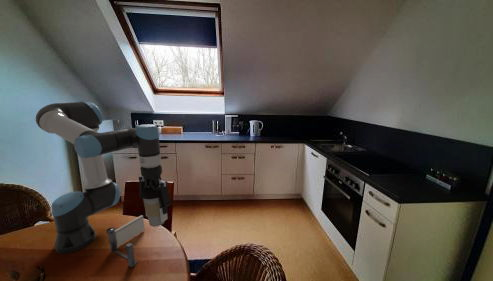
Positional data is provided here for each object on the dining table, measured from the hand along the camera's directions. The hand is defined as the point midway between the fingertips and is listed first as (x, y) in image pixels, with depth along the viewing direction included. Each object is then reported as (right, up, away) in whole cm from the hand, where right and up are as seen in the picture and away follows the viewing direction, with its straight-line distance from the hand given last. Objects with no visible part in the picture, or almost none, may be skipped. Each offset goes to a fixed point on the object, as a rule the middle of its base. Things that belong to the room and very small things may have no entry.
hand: (156, 217), depth 89 cm
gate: (-19, -15, +16) cm, 29 cm away
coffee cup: (0, -2, +1) cm, 2 cm away
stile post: (-10, -20, 0) cm, 22 cm away
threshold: (-15, -19, +5) cm, 25 cm away
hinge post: (-23, -18, +8) cm, 30 cm away
